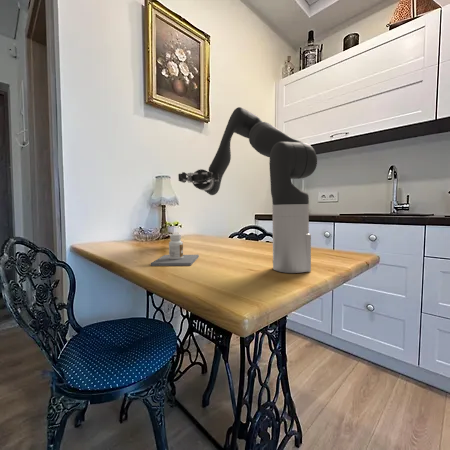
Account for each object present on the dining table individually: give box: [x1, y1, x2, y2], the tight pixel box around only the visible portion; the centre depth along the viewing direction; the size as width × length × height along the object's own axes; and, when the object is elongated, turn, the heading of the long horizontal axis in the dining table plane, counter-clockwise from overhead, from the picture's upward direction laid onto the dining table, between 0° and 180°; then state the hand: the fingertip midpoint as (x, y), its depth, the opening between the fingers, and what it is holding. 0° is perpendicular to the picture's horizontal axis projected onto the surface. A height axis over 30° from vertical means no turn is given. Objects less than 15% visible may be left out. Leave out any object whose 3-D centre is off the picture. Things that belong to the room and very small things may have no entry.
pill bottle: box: [168, 233, 184, 260], centre depth 83 cm, size 4×4×8 cm
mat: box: [150, 254, 200, 267], centre depth 83 cm, size 12×14×1 cm
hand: (195, 175), depth 86 cm, fingers open, 8 cm apart
